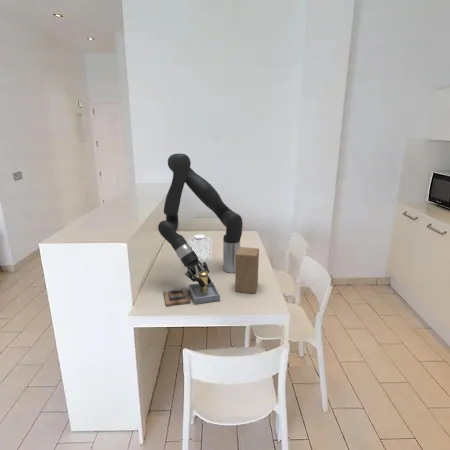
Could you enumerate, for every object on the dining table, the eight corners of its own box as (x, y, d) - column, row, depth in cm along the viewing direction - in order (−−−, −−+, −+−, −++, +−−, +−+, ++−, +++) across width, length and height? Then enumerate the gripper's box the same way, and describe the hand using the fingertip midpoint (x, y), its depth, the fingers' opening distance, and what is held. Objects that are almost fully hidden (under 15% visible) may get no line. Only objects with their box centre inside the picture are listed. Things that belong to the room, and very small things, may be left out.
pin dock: (186, 291, 164) (186, 286, 164) (190, 303, 153) (190, 298, 152) (163, 293, 161) (163, 288, 161) (166, 306, 150) (166, 301, 150)
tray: (212, 287, 168) (212, 281, 167) (220, 300, 155) (220, 295, 154) (189, 290, 165) (189, 284, 164) (194, 304, 152) (194, 298, 151)
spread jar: (196, 257, 205) (195, 239, 202) (187, 251, 214) (186, 234, 210) (212, 253, 212) (212, 235, 208) (202, 247, 220) (202, 231, 217)
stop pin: (207, 288, 162) (206, 270, 159) (208, 292, 158) (208, 274, 155) (198, 289, 161) (198, 271, 158) (200, 293, 157) (200, 275, 154)
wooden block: (257, 284, 171) (259, 248, 165) (255, 294, 162) (256, 255, 156) (238, 282, 173) (239, 246, 167) (235, 292, 164) (235, 253, 158)
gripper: (180, 255, 152) (202, 287, 150) (200, 246, 164) (220, 275, 161) (172, 263, 157) (193, 294, 154) (192, 254, 168) (211, 282, 165)
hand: (207, 284), depth 157 cm, fingers closed on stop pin, 4 cm apart
